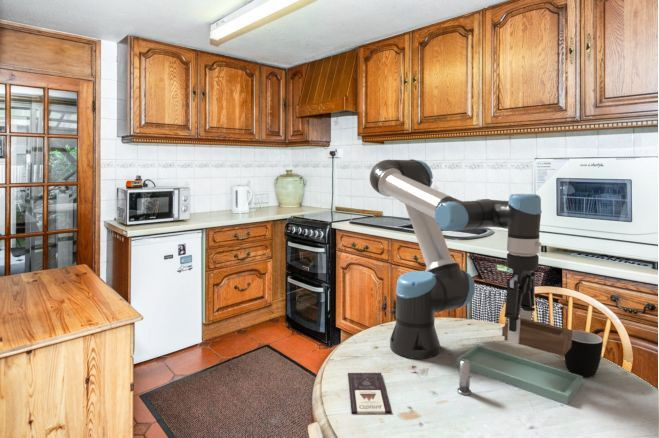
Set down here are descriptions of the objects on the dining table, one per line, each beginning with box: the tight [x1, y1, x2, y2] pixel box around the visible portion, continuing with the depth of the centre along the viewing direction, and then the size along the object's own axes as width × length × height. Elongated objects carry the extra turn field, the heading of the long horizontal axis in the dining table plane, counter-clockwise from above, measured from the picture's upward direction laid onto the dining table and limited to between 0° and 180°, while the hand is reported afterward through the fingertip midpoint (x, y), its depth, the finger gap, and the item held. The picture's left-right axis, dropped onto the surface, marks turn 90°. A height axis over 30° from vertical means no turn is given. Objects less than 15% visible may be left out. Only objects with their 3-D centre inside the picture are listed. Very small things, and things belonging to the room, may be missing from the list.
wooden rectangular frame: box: [501, 318, 573, 357], centre depth 106 cm, size 7×16×4 cm, turn 45°
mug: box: [563, 329, 604, 378], centre depth 112 cm, size 12×9×10 cm
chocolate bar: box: [347, 372, 392, 415], centre depth 102 cm, size 9×1×18 cm
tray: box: [456, 343, 584, 406], centre depth 110 cm, size 28×13×2 cm, turn 45°
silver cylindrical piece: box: [457, 359, 472, 396], centre depth 101 cm, size 3×3×8 cm
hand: (518, 337), depth 109 cm, fingers closed on wooden rectangular frame, 7 cm apart
